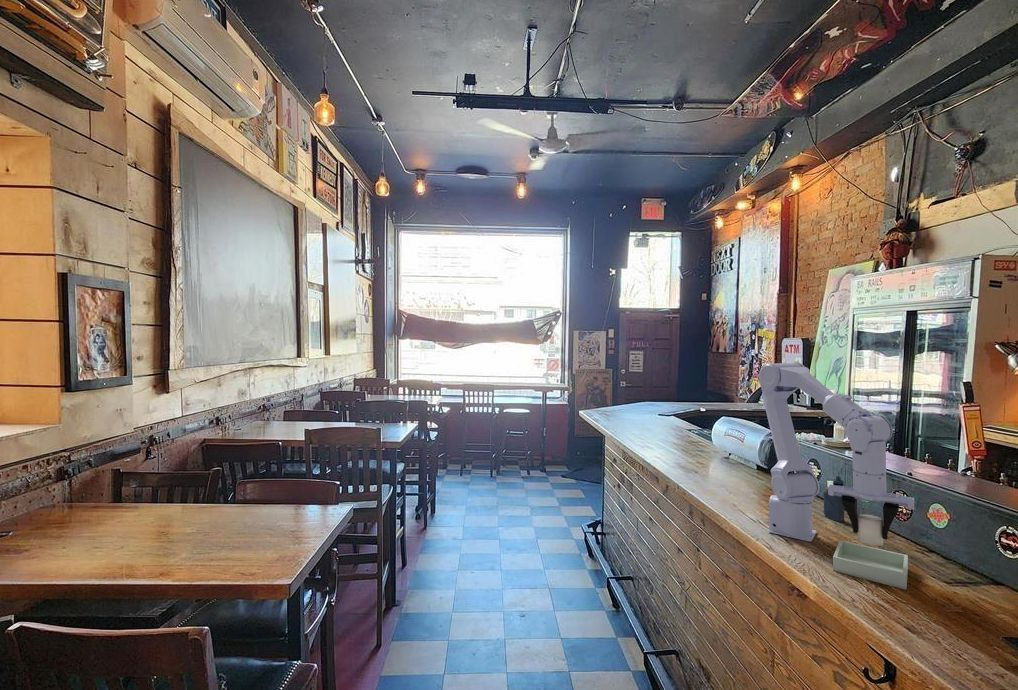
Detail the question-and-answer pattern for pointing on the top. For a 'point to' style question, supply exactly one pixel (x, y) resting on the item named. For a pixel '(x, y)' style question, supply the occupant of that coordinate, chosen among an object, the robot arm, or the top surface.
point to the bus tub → (871, 564)
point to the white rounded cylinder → (870, 529)
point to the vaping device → (834, 503)
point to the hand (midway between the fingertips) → (870, 534)
